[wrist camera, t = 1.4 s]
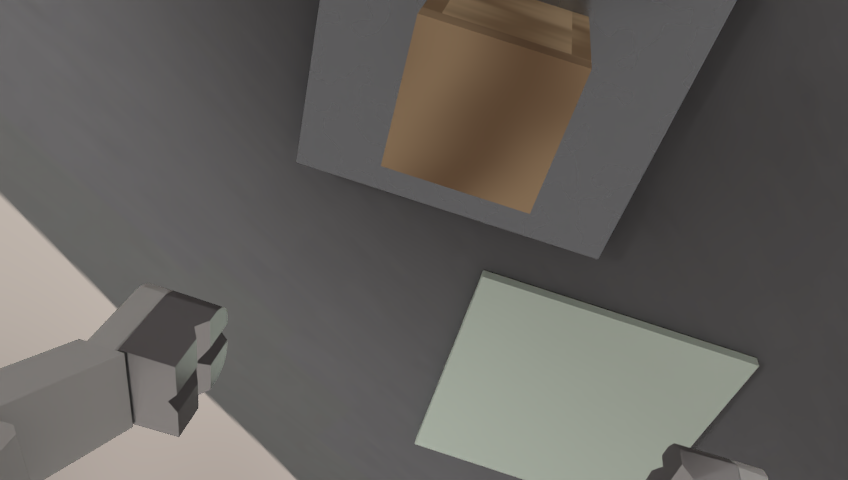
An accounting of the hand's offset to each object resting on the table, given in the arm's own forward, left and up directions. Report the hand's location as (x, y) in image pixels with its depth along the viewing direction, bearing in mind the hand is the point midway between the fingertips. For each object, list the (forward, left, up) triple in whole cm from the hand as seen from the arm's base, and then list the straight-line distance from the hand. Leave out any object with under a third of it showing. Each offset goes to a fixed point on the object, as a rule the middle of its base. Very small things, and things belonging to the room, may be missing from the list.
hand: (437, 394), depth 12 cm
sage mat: (+10, -21, -21) cm, 31 cm away
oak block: (-1, -1, -19) cm, 19 cm away
